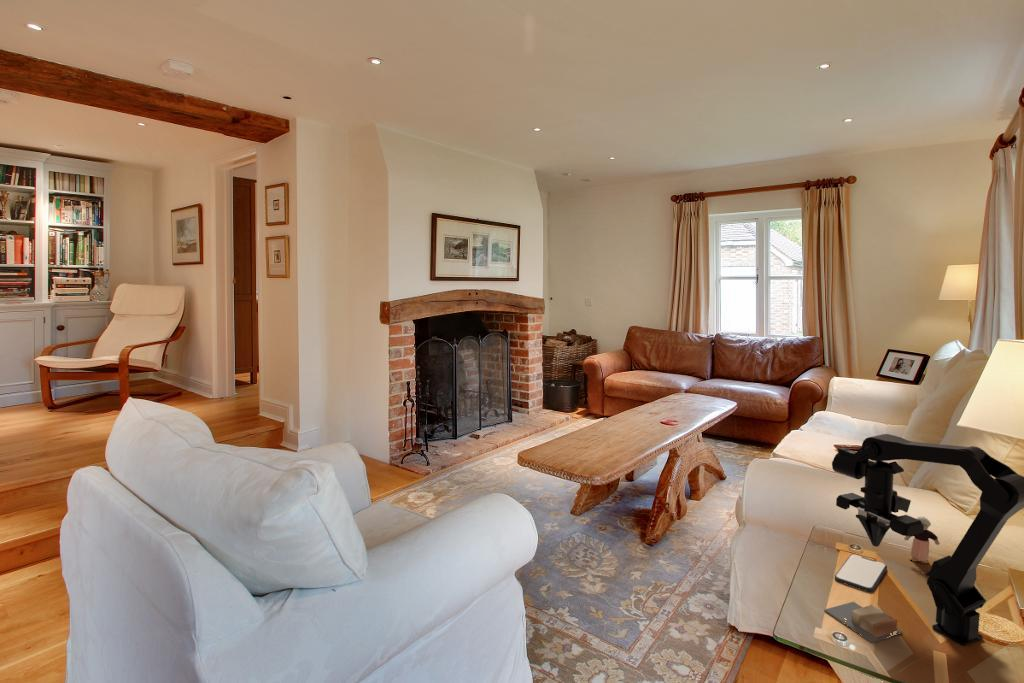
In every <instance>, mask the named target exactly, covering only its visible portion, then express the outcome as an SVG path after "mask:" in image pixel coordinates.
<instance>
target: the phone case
mask: <svg viewBox="0 0 1024 683" xmlns="http://www.w3.org/2000/svg"><path fill="white" fill-rule="evenodd" d="M887 570H888V566H887V564H886V563H884V562H881V561H878V560H875V559H872V558H868V557H865V556H862V555H859V554H853V553H852V554H850V555H849V556H848V557H847V559H846V560H845V562H844V563H843V564H842V566H841V567H840V568H839V570H838V571H837V572H836V573H835V574H834V580H835V581H836V582H838V583H840V584H841V583H842V584H843V583H846V584H848V585H847V586H849V585H851V586H850V587H852V586H854V587H853V588H855V587H857V588H856V589H858V588H860V589H859V590H861V589H862V590H861V591H864V590H866V591H865V592H867V591H868V592H867V593H873V592H874V591H875V589H876V588H877V586H878V585H879V583H880V582H881V579H882V578H883V577H884V575H885V573H886V571H887ZM846 584H845V585H846Z"/></svg>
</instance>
